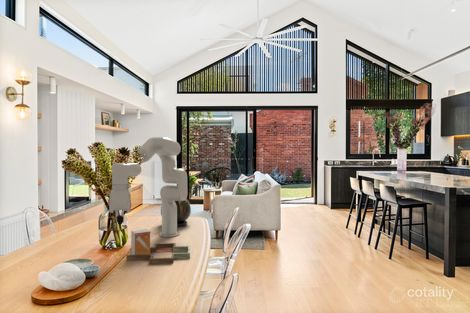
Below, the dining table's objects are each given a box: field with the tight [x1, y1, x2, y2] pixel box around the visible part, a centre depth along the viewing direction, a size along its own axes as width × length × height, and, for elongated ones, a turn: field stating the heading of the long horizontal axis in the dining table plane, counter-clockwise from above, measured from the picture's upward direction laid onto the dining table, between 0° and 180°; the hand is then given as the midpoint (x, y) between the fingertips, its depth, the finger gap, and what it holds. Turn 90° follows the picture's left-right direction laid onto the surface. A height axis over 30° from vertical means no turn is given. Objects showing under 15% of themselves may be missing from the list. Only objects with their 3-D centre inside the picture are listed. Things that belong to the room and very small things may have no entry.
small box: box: [130, 228, 151, 255], centre depth 172 cm, size 8×6×13 cm
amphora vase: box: [160, 185, 192, 228], centre depth 243 cm, size 22×22×28 cm
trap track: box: [125, 242, 191, 265], centre depth 173 cm, size 26×31×2 cm
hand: (120, 223), depth 170 cm, fingers closed
